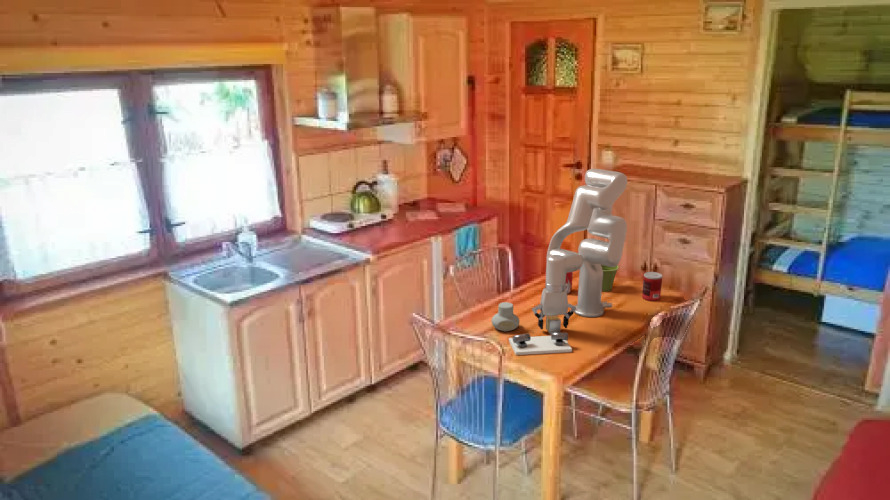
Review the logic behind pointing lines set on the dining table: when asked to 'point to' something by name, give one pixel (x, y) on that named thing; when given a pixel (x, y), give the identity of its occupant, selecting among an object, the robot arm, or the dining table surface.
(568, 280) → the soda can
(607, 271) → the plant pot
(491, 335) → the dining table surface
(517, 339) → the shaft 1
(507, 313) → the air freshener
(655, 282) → the canned food
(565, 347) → the board
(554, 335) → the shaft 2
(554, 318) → the tan box
